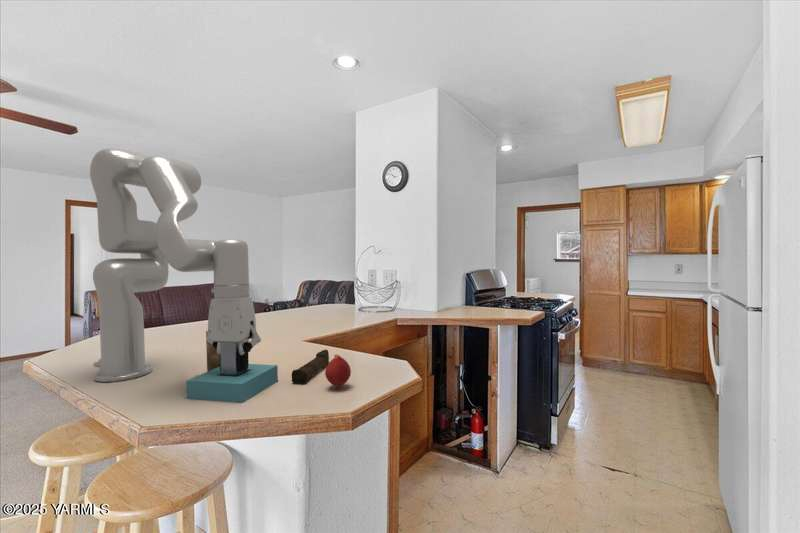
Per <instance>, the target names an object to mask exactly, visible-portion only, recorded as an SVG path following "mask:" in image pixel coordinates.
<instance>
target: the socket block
mask: <svg viewBox="0 0 800 533" xmlns="http://www.w3.org/2000/svg"><path fill="white" fill-rule="evenodd" d="M278 368H279V367H278V365H277V364H276V365H275V364H257V363H249V365H248V369H247V372H246V373H244V374H242V375H240V376H238V377H232V376H221V371H220V367H218V368H215V369H213V370H210V371H208V372H207V371H206V372H203V373H201V374H199V375H196V376H194V377H192V378H189V379H187V380H186V382H185V383H186V384H185V385H186V387H185V388H186V399H188V400H204V401H218V402H231V403H244V402H246V401H248V400H249V399H251V398H252V397H254V396H256V395H258V394H259V393H260V392H262V391H264V390H265V389H267V388H269V387H270V386H272V385H274V384H276V383H277V382H278V381H279V377H278V376H279V375H278V374H279V372H278Z"/></svg>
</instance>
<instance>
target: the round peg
mask: <svg viewBox="0 0 800 533" xmlns="http://www.w3.org/2000/svg"><path fill="white" fill-rule="evenodd" d="M207 337H208V330H206V331H205V341H206V343H205V344H206V345H205V346H206V372H208V371H210V370H213V369H215V368H218V367H220V358H219V354H217V350H216V349H215V348H214V347H213V345H212V344H210V343H209V342H208V341H207V340H206V339H207Z"/></svg>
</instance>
